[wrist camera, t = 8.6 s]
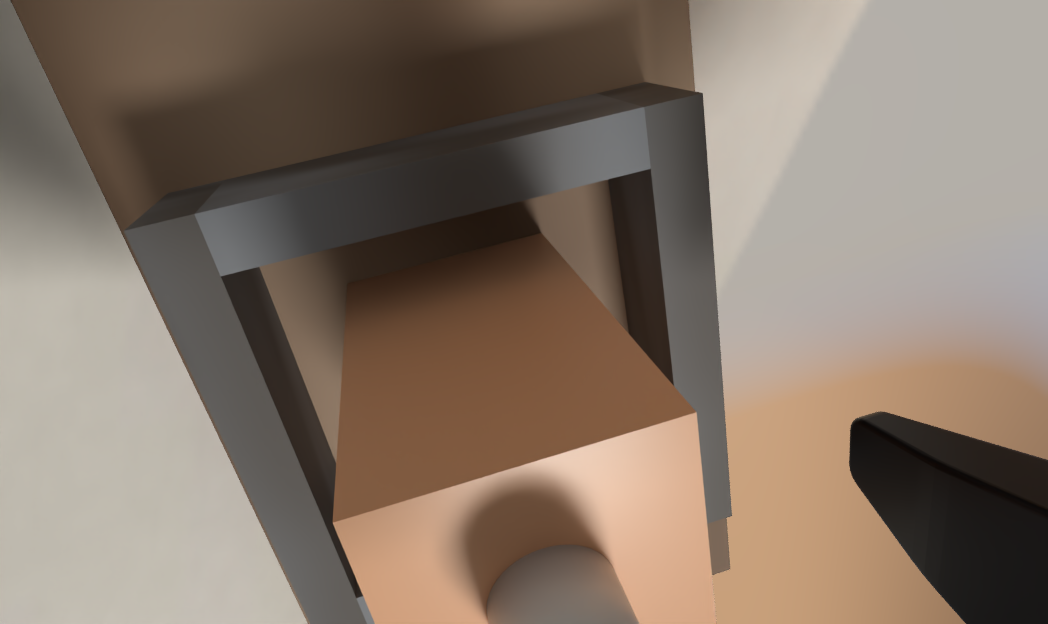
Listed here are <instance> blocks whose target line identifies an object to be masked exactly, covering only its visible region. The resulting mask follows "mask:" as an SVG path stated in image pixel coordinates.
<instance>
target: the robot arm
mask: <svg viewBox="0 0 1048 624" xmlns="http://www.w3.org/2000/svg"><path fill="white" fill-rule="evenodd" d="M849 465H850V471H851V474H852V477H853V479H854V480H855V482H856V484H857V485H858V487H859V488H860V489H861V491H862V492H863V493H864V495H865V496H866V498H867V499H868V500H869V502H870V503H871V505H872V506H873V507H874V509H875V510H876V511H877V513H878V514H879V516H880V517H881V518H882V520H883V521H884V522H885V524H886V525H887V526H888V528H889V529H890V531H891V532H892V533H893V535H894V536H895V538H896V539H897V540H898V542H899V543H900V544H901V546H902V547H903V549H904V550H905V551H906V553H907V554H908V555H909V557H910V558H911V560H912V561H913V562H914V563H915V565H916V566H917V567H918V569H919V570H920V571H921V573H922V574H923V575H924V576H925V577H926V579H927V580H928V581H929V582H930V583H931V585H932V586H933V587H934V588H935V589H936V590H937V592H938V593H939V594H940V595H941V596H942V597H943V598H944V599H945V601H946V602H947V603H948V604H949V605H950V606H951V607H952V609H954V611H955V612H956V613H957V614H958V615H959V616H960V618H961V619H962V620H963V621H964V622H965V623H966V624H1048V460H1046V459H1042V458H1039V457H1036V456H1033V455H1029V454H1026V453H1022V452H1019V451H1016V450H1012V449H1008V448H1006V447H1002V446H999V445H995V444H992V443H989V442H985V441H982V440H978V439H975V438H972V437H968V436H965V435H961V434H958V433H954V432H951V431H948V430H944V429H941V428H938V427H934V426H931V425H928V424H924V423H920V422H917V421H914V420H911V419H907V418H904V417H900V416H897V415H894V414H890V413H887V412H875V413H872V414H869V415H865V416H862V417H859V418H857V419H855V420H854V421H853V422H852V425H851V430H850V460H849Z"/></svg>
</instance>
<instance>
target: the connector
mask: <svg viewBox="0 0 1048 624" xmlns="http://www.w3.org/2000/svg"><path fill="white" fill-rule="evenodd" d="M333 525H334V527H335V530H336V532H337V535H338V537H339V539H340V542H341V544H342V546H343V549H344V551H345V554H346V556H347V558H348V561H349V563H350V566H351V568H352V570H353V573H354V575H355V577H356V580H357V582H358V585H359V587H360V589H361V592H362V594H363V596H364V599H365V601H366V604H367V606H368V608H369V611H370V613H371V616H372V618H373V620H374V623H375V624H717V622H716V611H715V601H714V590H713V581H712V569H711V558H710V548H709V537H708V527H707V516H706V506H705V495H704V485H703V474H702V464H701V453H700V443H699V432H698V422H697V412H696V411H695V410H694V409H693V408H692V406H691V405H690V404H689V403H688V402H687V401H686V400H685V398H684V397H683V396H682V395H681V394H680V393H679V391H678V390H677V389H676V388H675V387H674V386H673V384H672V383H671V382H670V381H669V380H668V379H667V378H666V376H665V375H664V374H663V373H662V372H661V371H660V369H659V368H658V367H657V366H656V365H655V364H654V363H653V361H652V360H651V359H650V358H649V357H648V356H647V354H646V353H645V352H644V351H643V350H642V349H641V347H640V346H639V345H638V344H637V343H636V342H635V341H634V339H633V338H632V337H631V336H630V335H629V334H628V332H627V331H626V330H625V329H624V328H623V327H622V325H621V324H620V323H619V322H618V321H617V320H616V319H615V317H614V316H613V315H612V314H611V313H610V312H609V310H608V309H607V308H606V307H605V306H604V305H603V304H602V302H601V301H600V300H599V299H598V298H597V297H596V295H595V294H594V293H593V292H592V291H591V290H590V288H589V287H588V286H587V285H586V284H585V283H584V282H583V280H582V279H581V278H580V277H579V276H578V275H577V273H576V272H575V271H574V270H573V269H572V268H571V267H570V265H569V264H568V263H567V262H566V261H565V260H564V258H563V257H562V256H561V255H560V254H559V253H558V251H557V250H556V249H555V248H554V247H553V246H552V245H551V243H550V242H549V241H548V240H547V239H546V238H545V236H544V235H543V234H542V233H539V234H535V235H532V236H528V237H524V238H520V239H516V240H512V241H509V242H505V243H501V244H497V245H493V246H489V247H486V248H482V249H478V250H474V251H470V252H466V253H463V254H459V255H455V256H451V257H447V258H443V259H439V260H436V261H432V262H428V263H424V264H420V265H416V266H413V267H409V268H405V269H401V270H397V271H393V272H390V273H386V274H382V275H378V276H374V277H370V278H367V279H363V280H359V281H355V282H351V283H347V299H346V315H345V331H344V347H343V363H342V380H341V396H340V412H339V428H338V444H337V460H336V476H335V492H334V509H333Z"/></svg>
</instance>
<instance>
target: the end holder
mask: <svg viewBox="0 0 1048 624" xmlns="http://www.w3.org/2000/svg"><path fill="white" fill-rule="evenodd" d="M11 2H12V4H13V6H14V8H15V11H16V13H17V15H18V17H19V19H20V21H21V23H22V25H23V27H24V29H25V31H26V34H27V36H28V38H29V40H30V42H31V44H32V46H33V48H34V50H35V52H36V55H37V57H38V59H39V61H40V63H41V65H42V67H43V69H44V71H45V73H46V75H47V78H48V80H49V82H50V84H51V86H52V88H53V90H54V92H55V94H56V96H57V99H58V101H59V103H60V105H61V107H62V109H63V111H64V113H65V115H66V117H67V119H68V122H69V124H70V126H71V128H72V130H73V132H74V134H75V136H76V138H77V140H78V143H79V145H80V147H81V149H82V151H83V153H84V155H85V157H86V159H87V161H88V164H89V166H90V168H91V170H92V172H93V174H94V176H95V178H96V180H97V182H98V184H99V187H100V189H101V191H102V193H103V195H104V197H105V199H106V201H107V203H108V205H109V208H110V210H111V212H112V214H113V216H114V218H115V220H116V222H117V224H118V226H119V228H120V231H121V233H122V235H123V237H124V239H125V241H126V243H127V245H128V247H129V249H130V252H131V254H132V256H133V258H134V260H135V262H136V264H137V266H138V268H139V270H140V272H141V275H142V277H143V279H144V281H145V283H146V285H147V287H148V289H149V291H150V293H151V296H152V298H153V300H154V302H155V304H156V306H157V308H158V310H159V312H160V314H161V316H162V319H163V321H164V323H165V325H166V327H167V329H168V331H169V333H170V335H171V337H172V340H173V342H174V344H175V346H176V348H177V350H178V352H179V354H180V356H181V358H182V360H183V363H184V365H185V367H186V369H187V371H188V373H189V375H190V377H191V379H192V381H193V384H194V386H195V388H196V390H197V392H198V394H199V396H200V398H201V400H202V402H203V405H204V407H205V409H206V411H207V413H208V415H209V417H210V419H211V421H212V423H213V425H214V428H215V430H216V432H217V434H218V436H219V438H220V440H221V442H222V444H223V446H224V449H225V451H226V453H227V455H228V457H229V459H230V461H231V463H232V465H233V467H234V469H235V472H236V474H237V476H238V478H239V480H240V482H241V484H242V486H243V488H244V490H245V493H246V495H247V497H248V499H249V501H250V503H251V505H252V507H253V509H254V511H255V513H256V516H257V518H258V520H259V522H260V524H261V526H262V528H263V530H264V532H265V534H266V537H267V539H268V541H269V543H270V545H271V547H272V549H273V551H274V553H275V555H276V557H277V560H278V562H279V564H280V566H281V568H282V570H283V572H284V574H285V576H286V578H287V581H288V583H289V585H290V587H291V589H292V591H293V593H294V595H295V597H296V599H297V601H298V604H299V606H300V608H301V610H302V612H303V614H304V616H305V618H306V620H307V622H308V624H375V623H374V620H373V618H372V616H371V613H370V611H369V608H368V606H367V604H366V601H365V599H364V596H363V594H362V592H361V589H360V587H359V585H358V582H357V580H356V577H355V575H354V573H353V570H352V568H351V566H350V563H349V561H348V558H347V556H346V554H345V551H344V549H343V546H342V544H341V542H340V539H339V537H338V535H337V532H336V530H335V527H334V525H333V509H334V492H335V476H336V460H337V444H338V428H339V412H340V396H341V380H342V363H343V347H344V331H345V315H346V299H347V283H351V282H355V281H359V280H363V279H367V278H370V277H374V276H378V275H382V274H386V273H390V272H393V271H397V270H401V269H405V268H409V267H413V266H416V265H420V264H424V263H428V262H432V261H436V260H439V259H443V258H447V257H451V256H455V255H459V254H463V253H466V252H470V251H474V250H478V249H482V248H486V247H489V246H493V245H497V244H501V243H505V242H509V241H512V240H516V239H520V238H524V237H528V236H532V235H535V234H539V233H542V234H543V235H544V236H545V238H546V239H547V240H548V241H549V242H550V243H551V245H552V246H553V247H554V248H555V249H556V250H557V251H558V253H559V254H560V255H561V256H562V257H563V258H564V260H565V261H566V262H567V263H568V264H569V265H570V267H571V268H572V269H573V270H574V271H575V272H576V273H577V275H578V276H579V277H580V278H581V279H582V280H583V282H584V283H585V284H586V285H587V286H588V287H589V288H590V290H591V291H592V292H593V293H594V294H595V295H596V297H597V298H598V299H599V300H600V301H601V302H602V304H603V305H604V306H605V307H606V308H607V309H608V310H609V312H610V313H611V314H612V315H613V316H614V317H615V319H616V320H617V321H618V322H619V323H620V324H621V325H622V327H623V328H624V329H625V330H626V331H627V332H628V334H629V335H630V336H631V337H632V338H633V339H634V341H635V342H636V343H637V344H638V345H639V346H640V347H641V349H642V350H643V351H644V352H645V353H646V354H647V356H648V357H649V358H650V359H651V360H652V361H653V363H654V364H655V365H656V366H657V367H658V368H659V369H660V371H661V372H662V373H663V374H664V375H665V376H666V378H667V379H668V380H669V381H670V382H671V383H672V384H673V386H674V387H675V388H676V389H677V390H678V391H679V393H680V394H681V395H682V396H683V397H684V398H685V400H686V401H687V402H688V403H689V404H690V405H691V406H692V408H693V409H694V410H695V411H696V412H697V422H698V432H699V443H700V453H701V464H702V474H703V485H704V495H705V506H706V516H707V527H708V537H709V548H710V558H711V569H712V575H714V574H716V573H720V572H723V571H726V570H729V569H730V560H729V547H728V533H727V519H726V518H727V517H730V516H732V512H731V497H730V482H729V470H728V469H729V468H728V454H727V440H726V424H725V411H724V397H723V381H722V367H721V352H720V338H719V323H718V310H717V294H716V280H715V265H714V251H713V236H712V222H711V207H710V193H709V178H708V164H707V149H706V135H705V120H704V106H703V93H699V92H695V85H694V72H693V58H692V45H691V31H690V18H689V4H688V0H11Z"/></svg>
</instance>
